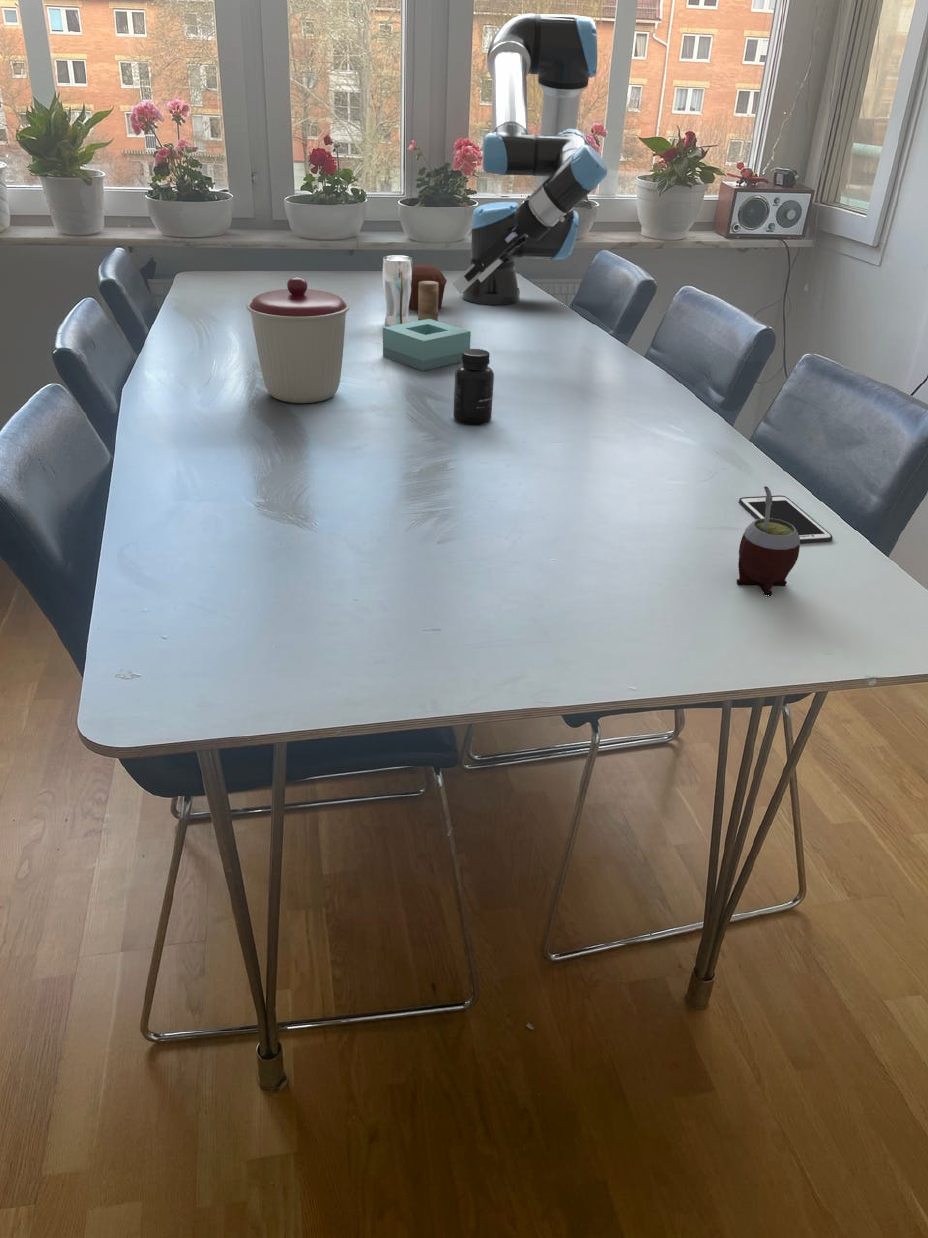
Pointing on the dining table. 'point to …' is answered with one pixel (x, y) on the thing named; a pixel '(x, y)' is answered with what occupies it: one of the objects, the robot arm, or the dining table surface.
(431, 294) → the dowel pin
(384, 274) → the beer glass
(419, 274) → the muffin
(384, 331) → the socket block
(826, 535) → the cell phone
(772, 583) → the mate gourd
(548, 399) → the dining table surface
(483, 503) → the dining table surface
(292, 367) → the canister
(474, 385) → the supplement bottle
